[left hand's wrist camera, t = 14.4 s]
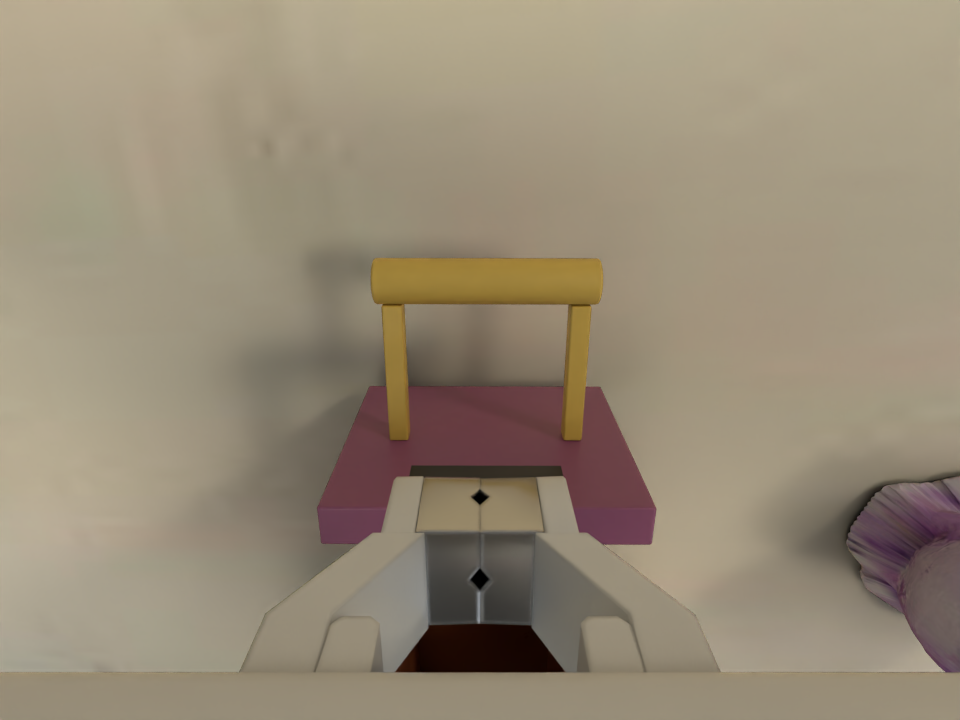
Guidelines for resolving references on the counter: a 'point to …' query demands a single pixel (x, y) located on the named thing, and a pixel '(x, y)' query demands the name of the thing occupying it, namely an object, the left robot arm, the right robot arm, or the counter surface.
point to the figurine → (915, 560)
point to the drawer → (486, 436)
